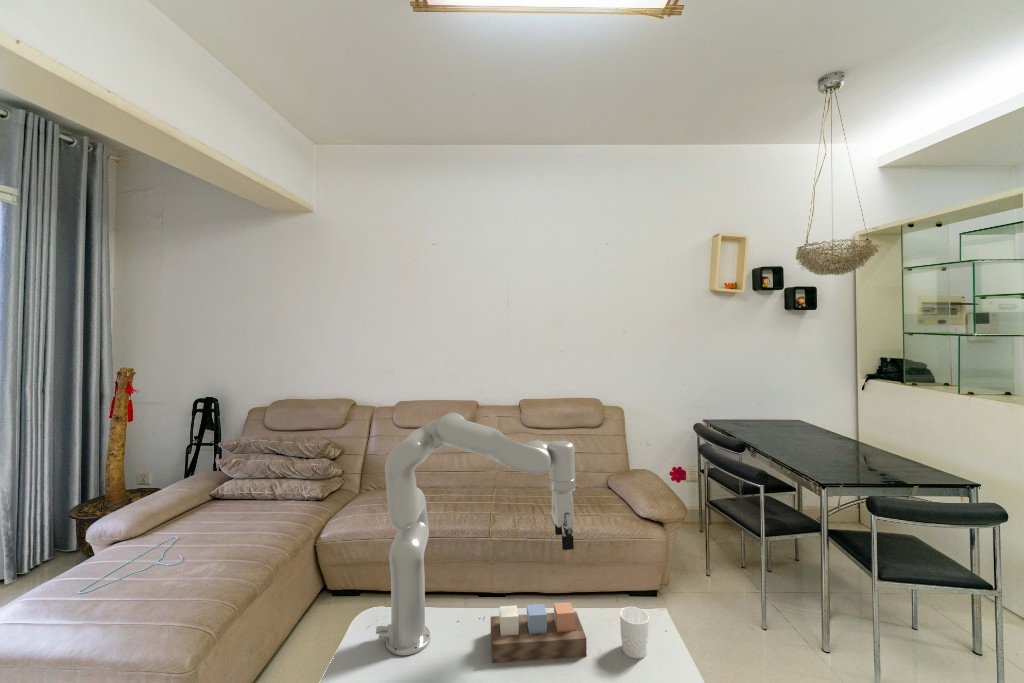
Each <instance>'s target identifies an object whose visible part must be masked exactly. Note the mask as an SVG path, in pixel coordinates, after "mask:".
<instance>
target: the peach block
mask: <svg viewBox="0 0 1024 683" xmlns="http://www.w3.org/2000/svg"><path fill="white" fill-rule="evenodd" d="M574 612H575V610H574V607H573V605H572V603H571V602H570V601H569V602H553V613H554V625H555V629H556V632H569V631H575V613H574Z"/></svg>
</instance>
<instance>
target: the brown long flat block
mask: <svg viewBox="0 0 1024 683" xmlns="http://www.w3.org/2000/svg"><path fill="white" fill-rule="evenodd" d="M574 613H575V631H569V632H556V629H555V625H554V612H548V613H547V612H546V614H547V633H538V634H529V633H528V628H527V613H526V614H518V616H519V635H507V636H501V635H500V615H497V616H495V615H494V616H490V645H491V662H492V664H493V663H509V662H512V663H513V662H525V661H537V660H538V661H539V660H540V661H541V660H553V659H566V658H580V657H581V658H582V657H587V643H588V642H587V636H586V633H585V630H584V629H583V625H582V623H581V620H580V618H579V615H578V613H577V611H574Z"/></svg>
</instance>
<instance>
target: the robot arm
mask: <svg viewBox="0 0 1024 683" xmlns="http://www.w3.org/2000/svg"><path fill="white" fill-rule="evenodd" d="M445 446H447V447H450V448H454V449H458V450H462V451H464V452H467V453H472V454H476V455H479V456H481V457H485V458H488V459H490V460H492V461H494V462H496V463H498V464H500V465H503V466H505V467H507V468H511V469H514V470H516V471H520V472H523V473H526V474H527V473H528V474H530V475H541V474H545V473H546V472H547V471H548V472H549V473H548V474H549V491H551V517H552V519H553V521H554V529H555V530H554V531H555V536H561V546H562V550H563V551H569V550H570V551H571V550H574V549H575V548H574V545H575V542H574V530H573V526H574V525H575V512H574V497H573V492H574V491H575V490H576V473H575V471H576V467H575V466H576V465H575V447H574V444H573V443H572V442H571V441H568V440H555V441H546V440H539V439H538V440H536V439H535V440H530V441H527V442H526V443H525V444H524V443H521V442H519V441H517V440H513V439H511V438H509V437H508V436H506V435H505V434H503V433H502V432H501V431H500V430H498V429H497V428H494V427H492V426H487V425H484V424H480V423H477V422H474V421H470V420H466V419H465V417H464V416H463V415H462V414H459V413H457V412H449V413H446V414H445V415H443V416H441V417H438V418H437V419H435V420H433V421H431V422H429V423H427V424H424V425H423V426H421V427H419V428H417V429H415V430H413V431H412V432H411V433H410V434H409V435H408V436H407V437H406V438H405V439H404V440H402V441H401V442H400V443H399V444H397V445H396V446H395V447H394V448H393V449H392V450H391V451H390V453H389V454H388V456H387V457H386V460H385V466H384V476H385V478H384V479H385V487H386V499H387V500H386V502H387V512H388V513H387V514H388V518H389V522H390V524H391V525H392V526H393V527H394V528H395V529H397V533H396V535H395V536H394V539H393V541H392V544H391V546H390V549H389V555H388V556H389V557H388V559H389V568H390V591H391V592H390V595H391V596H390V598H391V601H390V603H391V604H390V605H391V606H390V607H391V615H390V616H391V618H390V620H391V623H389V624H387V625H377V626H376V628H375V633H376V635H378V639H385V646H386V649H387V650H388V652H390V653H391V652H392V653H391V654H393V653H394V654H393V655H396V654H397V656H411V655H414V654H417V653H419V652H420V651H423V649H425V648H426V647H427V645H429V643H430V640H431V631H430V629H429V628H428V627H427V626H426V615H425V614H426V609H425V608H426V600H425V597H426V596H425V594H426V590H425V588H426V584H425V583H426V582H425V581H426V580H425V561H424V560H425V551H426V548H427V544H428V541H429V538H430V536H429V535H430V532H429V531H430V528H429V521H428V520H429V519H428V511H427V510H428V509H427V502H426V496H425V493H424V492H423V491H422V489H420V488H419V487H418V486H417V478H416V477H417V476H416V474H415V470H416V468H417V467H418V466H420V465H421V464H423V463H424V462H425V461H426V460H427V459H428V458H429V456H430V454H431V453H433V452H434V451H436V450H438V449H440V448H443V447H445Z"/></svg>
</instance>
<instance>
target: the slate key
mask: <svg viewBox="0 0 1024 683" xmlns="http://www.w3.org/2000/svg"><path fill="white" fill-rule="evenodd" d="M546 613H547V609H546V607H545V604H544V603H535V604H534V603H533V604H527V605H526V614H527V628H528V633H529V634H538V633H547V614H546Z"/></svg>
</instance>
